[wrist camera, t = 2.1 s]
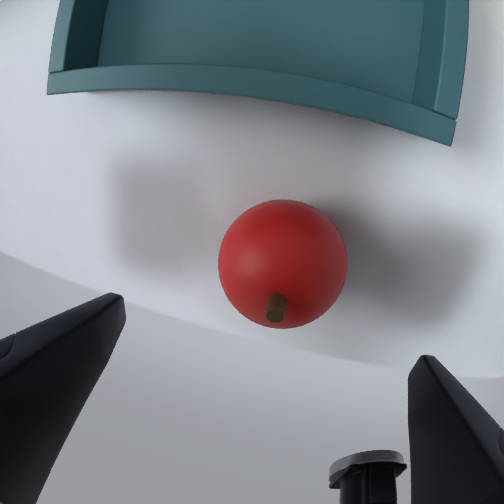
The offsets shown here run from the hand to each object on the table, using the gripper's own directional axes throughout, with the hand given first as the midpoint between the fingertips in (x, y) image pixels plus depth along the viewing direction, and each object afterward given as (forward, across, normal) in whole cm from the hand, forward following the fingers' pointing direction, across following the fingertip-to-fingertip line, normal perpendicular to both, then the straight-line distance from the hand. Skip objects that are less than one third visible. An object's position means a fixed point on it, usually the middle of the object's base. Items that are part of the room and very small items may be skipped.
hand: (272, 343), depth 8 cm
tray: (+7, +3, -27) cm, 28 cm away
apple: (+7, 0, 0) cm, 7 cm away
